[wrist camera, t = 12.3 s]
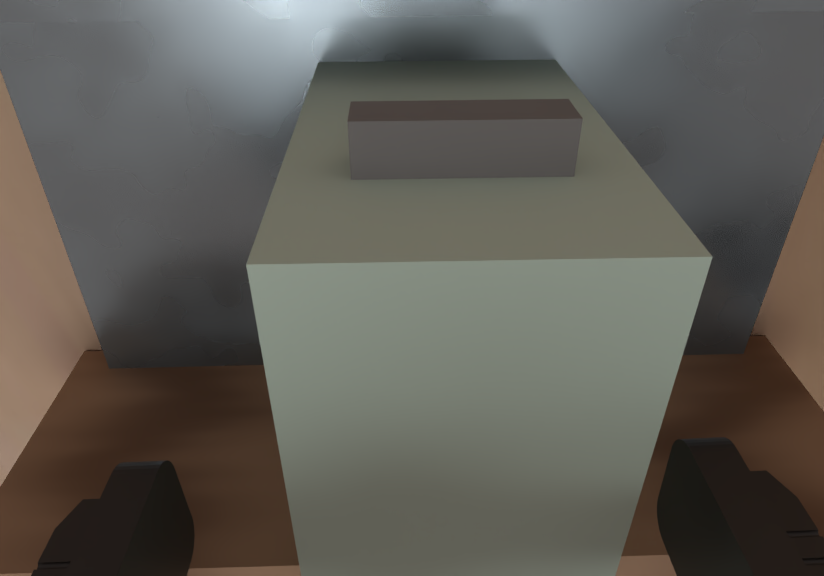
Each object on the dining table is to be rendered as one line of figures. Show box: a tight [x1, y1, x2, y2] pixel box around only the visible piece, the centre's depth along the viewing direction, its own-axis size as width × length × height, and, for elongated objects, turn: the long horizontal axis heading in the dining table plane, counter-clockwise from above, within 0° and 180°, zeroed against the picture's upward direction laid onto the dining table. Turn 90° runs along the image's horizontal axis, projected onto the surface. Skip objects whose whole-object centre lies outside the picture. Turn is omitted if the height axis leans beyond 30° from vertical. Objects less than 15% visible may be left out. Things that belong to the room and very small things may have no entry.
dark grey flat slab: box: [0, 0, 824, 369], centre depth 15 cm, size 18×11×2 cm, turn 91°
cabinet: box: [246, 60, 712, 576], centre depth 12 cm, size 5×9×8 cm, turn 0°
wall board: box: [0, 336, 824, 576], centre depth 16 cm, size 20×2×7 cm, turn 90°
